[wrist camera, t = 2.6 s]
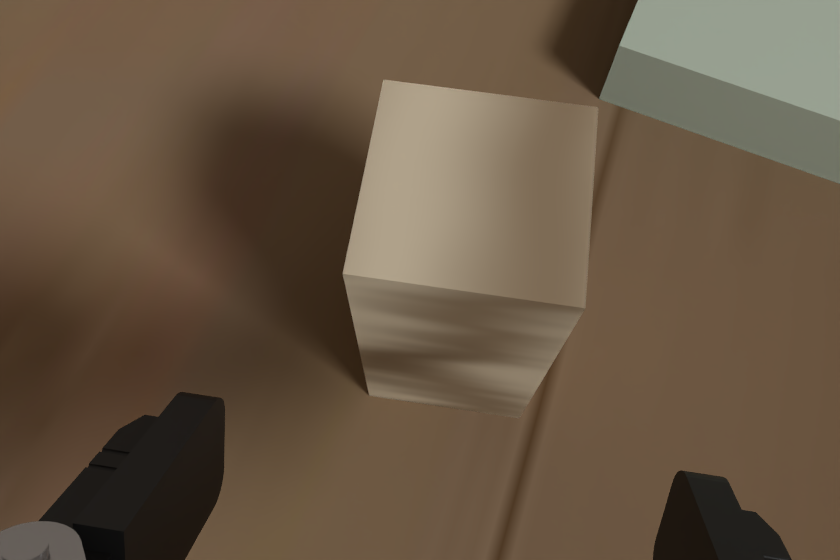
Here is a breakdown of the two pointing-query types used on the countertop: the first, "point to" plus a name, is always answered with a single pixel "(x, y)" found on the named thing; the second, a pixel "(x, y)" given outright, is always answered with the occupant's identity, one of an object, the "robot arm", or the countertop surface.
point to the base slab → (738, 75)
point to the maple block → (469, 244)
